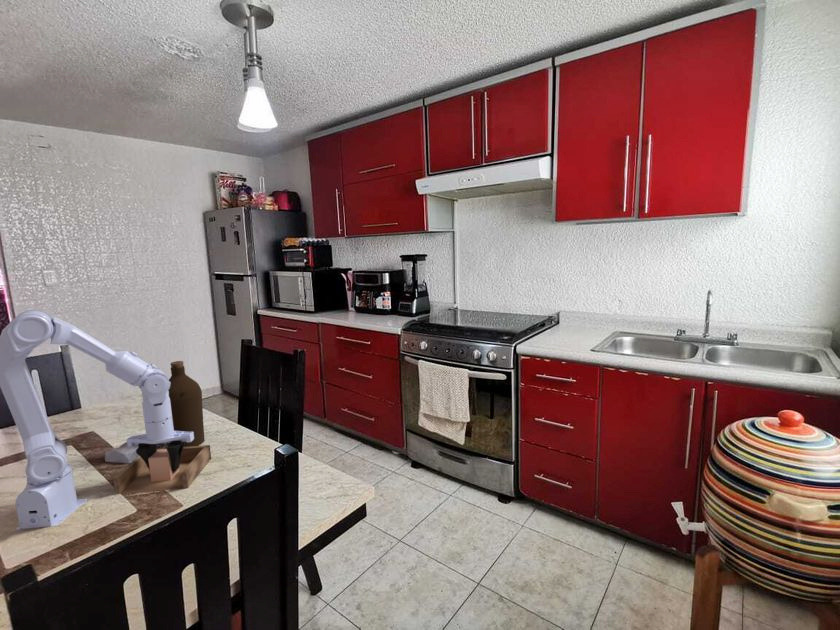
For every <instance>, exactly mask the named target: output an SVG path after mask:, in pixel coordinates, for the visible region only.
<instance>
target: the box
mask: <svg viewBox="0 0 840 630" xmlns="http://www.w3.org/2000/svg"><path fill="white" fill-rule="evenodd" d="M166 448H167V447H164V448H157V450H162V449H166ZM157 450H156V451H157ZM211 460H212V451H211V445H210V444H207V445H206V444H205V445H199V446H189V447H184V448H183V450H182V453H181V457H180V464H179V470H180V471H179V472H178V473H177V474H176V475H175V476H174V477H173V478H172V480H166V481H154V482H151V475H150V471H149V468H148V466H147V465H146V463H145V461H144V460H143V459H142V458H141V457H140V456H138V457H137V458H136V459H135V460H133V461H132V462H131V463H128V465H126V466H125V467H124V468H123V469H121V471H119V472H118V473H117V474H116V475H115V476H114V477H112V482H113V489H114V495H119V494H132V493H143V492H144V493H145V492H146V493H147V492H157V491H169V490H179V489H181V490H182V489H189V488H190V486H191V485H192V484H193V483H194V481H195V480H196V479H197V477H198V476H199V475H200V474H201V472H202V471H203V470H204V469H205V467H206V466H207V465H208V464H209V462H210V461H211Z"/></svg>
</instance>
